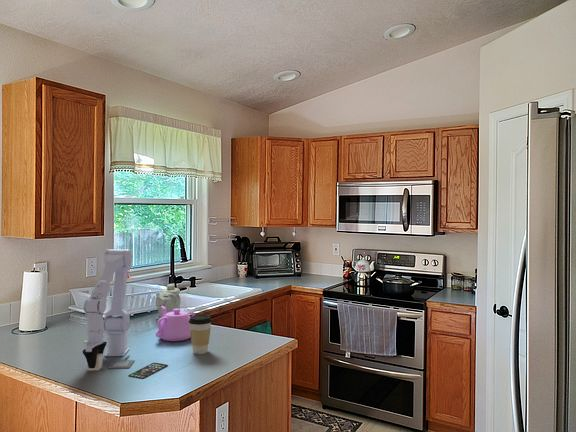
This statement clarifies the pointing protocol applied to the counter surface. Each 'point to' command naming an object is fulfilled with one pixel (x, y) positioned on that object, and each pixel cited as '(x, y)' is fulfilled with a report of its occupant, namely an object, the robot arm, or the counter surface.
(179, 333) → the teapot
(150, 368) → the smartphone
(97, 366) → the block
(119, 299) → the robot arm
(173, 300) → the teapot
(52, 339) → the counter surface
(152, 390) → the counter surface
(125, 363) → the mat
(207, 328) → the coffee cup
